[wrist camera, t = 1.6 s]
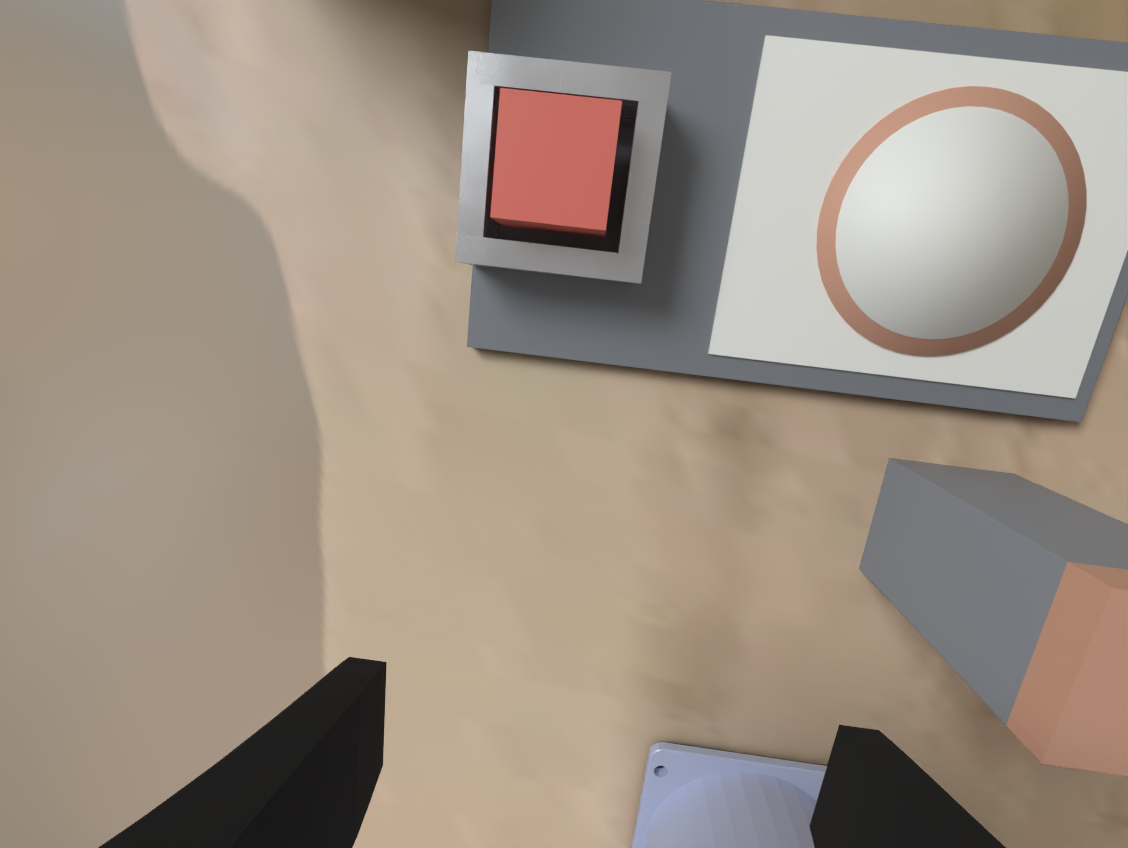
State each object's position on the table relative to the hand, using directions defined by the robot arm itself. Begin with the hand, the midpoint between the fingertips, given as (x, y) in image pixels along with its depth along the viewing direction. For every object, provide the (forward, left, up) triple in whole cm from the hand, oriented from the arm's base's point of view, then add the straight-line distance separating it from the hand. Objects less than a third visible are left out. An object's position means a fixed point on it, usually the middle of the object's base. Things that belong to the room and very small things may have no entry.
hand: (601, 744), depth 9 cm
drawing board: (+10, -5, -10) cm, 15 cm away
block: (+1, -11, -10) cm, 15 cm away
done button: (+10, +2, -9) cm, 13 cm away
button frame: (+10, +2, -10) cm, 14 cm away
